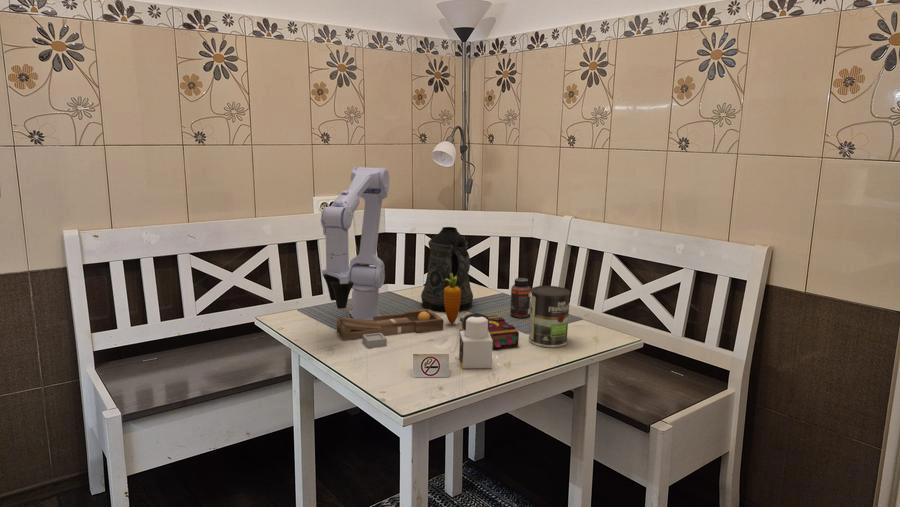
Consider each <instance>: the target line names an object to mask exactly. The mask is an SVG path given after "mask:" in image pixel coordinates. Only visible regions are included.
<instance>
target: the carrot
mask: <svg viewBox="0 0 900 507" xmlns="http://www.w3.org/2000/svg"><path fill="white" fill-rule="evenodd" d="M450 277H451V280H452V281H451V280H449V279H447V278H446V279H445V280H446V281H448V283H449V284H450V286H448V287H446V288H444V305H445V311H446V313H445V315H446V317H447V320H448V323H449V324H450V325H451V326H453V325H454V324H455V322H456V320H457V318H458V317H459V314H460V312H459V309H460V302H461V289H460V288H459V287H458V286H455V284H456V281H457V276H455V277H453V274H452V273H450Z"/></svg>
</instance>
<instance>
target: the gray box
mask: <svg viewBox="0 0 900 507" xmlns="http://www.w3.org/2000/svg"><path fill="white" fill-rule="evenodd" d="M387 340H388V339H387V338H386V336H384V335H383V334H382V333H374V334H366V335H363V338H362V343H363V344H364V345H365V347H366V348H367V349H370V348H371V349H372V348H380V347H386V346H387V345H388V343H387V342H388V341H387Z"/></svg>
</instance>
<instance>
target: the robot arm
mask: <svg viewBox="0 0 900 507" xmlns="http://www.w3.org/2000/svg"><path fill="white" fill-rule="evenodd" d="M389 175H390V174H389V171H388V169H387V168H386V167H367V166H364V167H363V166H354V167H353V169H352V170H351V174H350V183H349V186H348V188H347V189H343V190H342V191H341V192H340V193H339V194H338V196H337V197H336V198H335V200H334V201H333V203H331V205H330V206H329V205H328V206H326V207H324V208H323V209H322V211H321V218H320V224H321V227H322V229H323V230H322V233H323V236H324V237H325V265H326V266H325V269H321V274H322V276H323V279H324V281H325V282H326V286H327V289H328V295H329V298H330V301H332V302H333V301H335V304H336V308H337V309H338V310H339V309H340V310H341V309H346V308H347V305H348V301H349V297H350V296H349V295H350V293H351V290H352V293H351V310H349V311H348V314H349V315H350V314H351V315H350V316H351V318H355V319H365V320H373V317H375V316H382V315H381V313H380V312H379V310H380V309H379V304H380V303H379V301H380V300H379V299H380V298H379V297H380V294H379V293H380V292H379V289H380V288H382V287H383V285H384V283H385V279H386V274H385V273H386V272H385V263H384V261H383V260H382V259H381V258H379V257H378V255H377V251H378V250H377V249H378V242H379V241H378V240H379V232H380V221H381V213H382V212H381V210H382V203H383V200H385V199H386V198H388V194H389V186H390V176H389ZM360 198H362V199H363V200H364V209H363V217H362V225H361V226H362V227H361V236H360V245H359V253H358V254H357V255H356V256H355V257H353V258H352V259H351V260H349V259H350V258H349V229H350V228H351V226H352V222H353V218H354V213H355V211H356V210H357V209H358V207H359V205H360ZM349 261H350V263H349Z"/></svg>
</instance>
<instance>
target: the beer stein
mask: <svg viewBox="0 0 900 507" xmlns="http://www.w3.org/2000/svg"><path fill="white" fill-rule="evenodd" d="M457 229H458V228H457V227H453V226H443V227H442V229H441V230H440V231H439V233H437V234H436V235H434V236H433V237H431V238H430V239H429V240H428V247H429V249H430V252H429V254H430V255H429V260H428V267H427V273H426V274H427V275H426V277H425V278H426V280H425V283H424V287H423V289H422V291H421V295H420V298H421V303H422V306H424V307H425V308H424V307H423V308H424V309H426V308H427V309H430V310H432V311H433V312H435V311H436V312H435V313H444V314H446V311H445V305H444V288H446V287H448V286H450V284H449V283H448V281H446V280H445V279H446V278H447V279H449V280H451V277H450V273H452V274H453V277H455V276H457V281H456V284H455V286H458V287H459V288H460V289H461V302H460V309H459V313H460V312H465V311H466V310H469V309H471V307H472V304H473V301H474V294H473V291H472V288H471V284H470V278H469V276H470V275H469V273H470V272H469V271H470V269H471V268H470V267H471V257H470V254H469V252H468V245H469V243H468V241H467V239H466V238H465V237H464V235H462V234H461V233H460V232H459V230H457ZM451 281H452V280H451ZM427 309H426V310H427Z"/></svg>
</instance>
